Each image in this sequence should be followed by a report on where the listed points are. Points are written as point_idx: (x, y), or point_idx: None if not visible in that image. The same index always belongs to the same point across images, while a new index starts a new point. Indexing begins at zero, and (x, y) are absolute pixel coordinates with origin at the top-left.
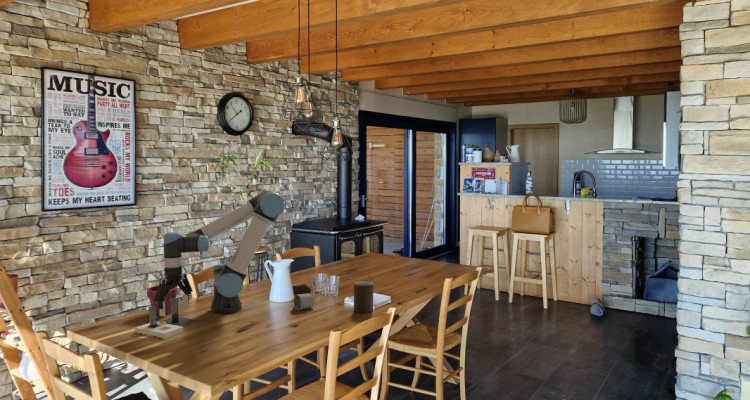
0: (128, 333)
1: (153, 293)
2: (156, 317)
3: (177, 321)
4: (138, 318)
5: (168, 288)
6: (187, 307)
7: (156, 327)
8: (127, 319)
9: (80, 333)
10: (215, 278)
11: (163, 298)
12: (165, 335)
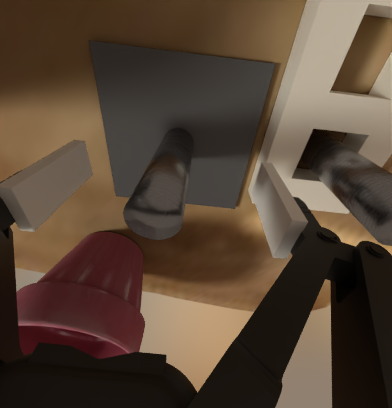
0: (333, 218)
1: (136, 340)
2: (356, 162)
3: (179, 130)
4: (186, 274)
5: (269, 362)
6: (78, 143)
7: (352, 127)
8: (204, 287)
9: (327, 303)
10: None
11: (319, 249)
12: None
